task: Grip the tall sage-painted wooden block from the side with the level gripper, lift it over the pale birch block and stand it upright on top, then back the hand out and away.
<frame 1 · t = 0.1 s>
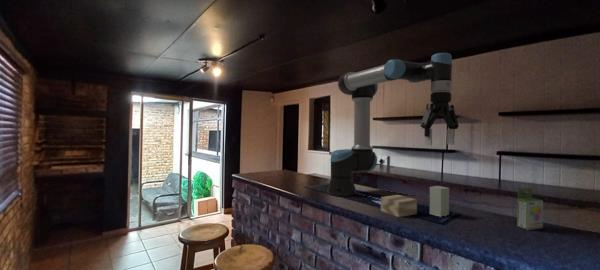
hand: (439, 145, 117), 28 cm above the worktop, tool pointing down, fingers open, 13 cm apart
birch block: (398, 212, 120), on the worktop
sage block: (439, 214, 116), on the worktop
ink box: (529, 228, 100), on the worktop
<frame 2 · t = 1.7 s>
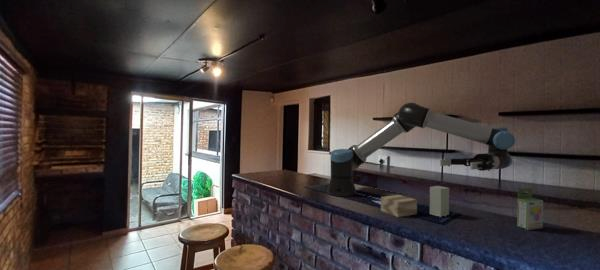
hand: (455, 164, 120), 20 cm above the worktop, tool horizontal, fingers open, 13 cm apart
nothing on the worktop moved.
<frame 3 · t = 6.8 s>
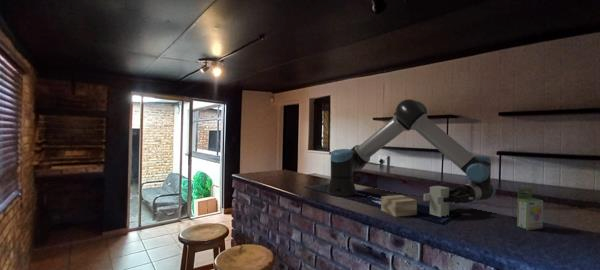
hand: (430, 199, 114), 7 cm above the worktop, tool horizontal, fingers closed on sage block, 5 cm apart
sage block: (439, 214, 116), on the worktop, touching gripper
everything else where it was.
when the fingers open (14 cm above the worktop, at t = 14.7 s): sage block drops 1 cm, resting on birch block.
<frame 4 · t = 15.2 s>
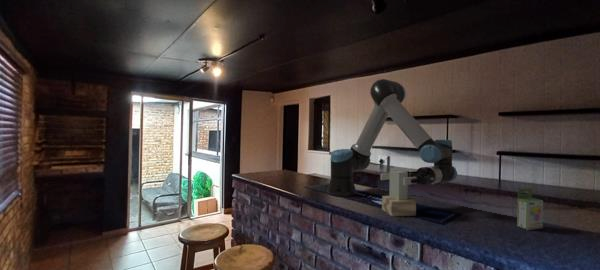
hand: (392, 179, 118), 14 cm above the worktop, tool horizontal, fingers open, 12 cm apart
birch block: (398, 212, 120), on the worktop, touching sage block
sage block: (398, 198, 120), point 6 cm above the worktop, touching birch block
everything else where it was.
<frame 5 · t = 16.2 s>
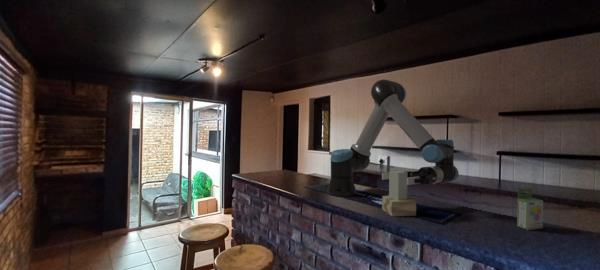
hand: (394, 178, 118), 14 cm above the worktop, tool horizontal, fingers open, 13 cm apart
nothing on the worktop moved.
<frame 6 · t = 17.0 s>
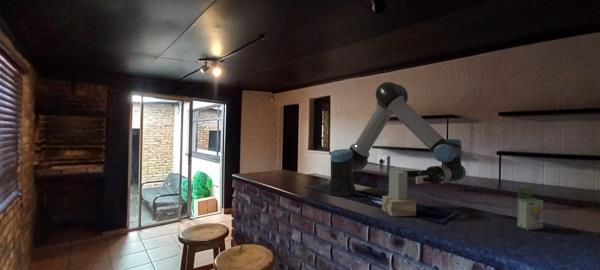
hand: (403, 177, 120), 14 cm above the worktop, tool horizontal, fingers open, 13 cm apart
nothing on the worktop moved.
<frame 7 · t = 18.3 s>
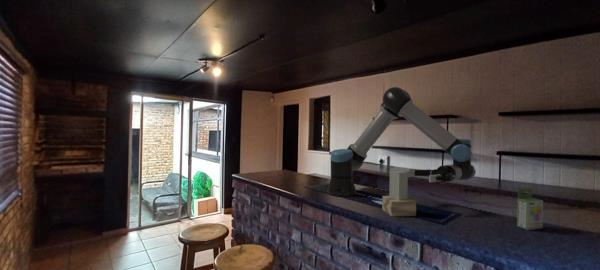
hand: (416, 176, 124), 14 cm above the worktop, tool horizontal, fingers open, 13 cm apart
birch block: (398, 213, 119), on the worktop
sage block: (398, 198, 119), point 6 cm above the worktop
everything else where it was.
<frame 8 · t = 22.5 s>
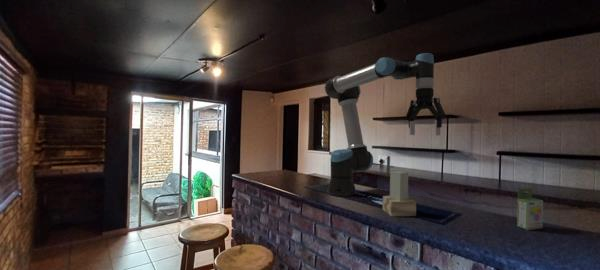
hand: (424, 135, 132), 32 cm above the worktop, tool pointing down, fingers open, 13 cm apart
nothing on the worktop moved.
at the end: sage block inside the target area on the birch block (0.2 cm from its centre), point 6.0 cm above the birch block's base; sage block tilted 1°; the gripper is holding nothing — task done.
